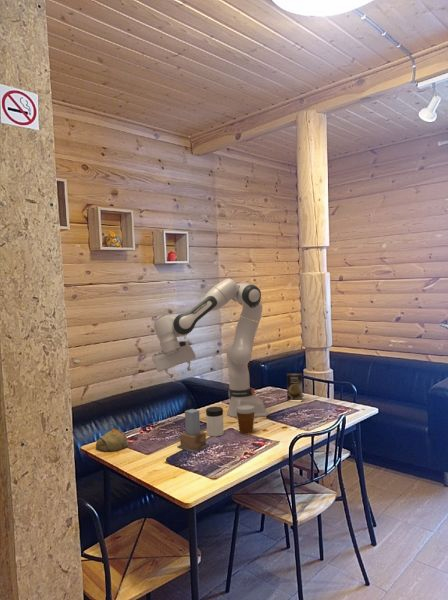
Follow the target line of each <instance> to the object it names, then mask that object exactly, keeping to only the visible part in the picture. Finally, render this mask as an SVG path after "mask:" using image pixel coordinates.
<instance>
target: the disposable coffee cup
mask: <svg viewBox="0 0 448 600" xmlns="http://www.w3.org/2000/svg"><path fill="white" fill-rule="evenodd" d="M236 412H237V417H238V418H237V417H236V418H237V423H238V428H239V432H240V433H241V434H246V435H247V434H251V433H253V431H254V421H255V417H254V412H255V408H254V406H253V405H239V406H237V408H236Z"/></svg>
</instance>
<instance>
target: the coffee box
mask: <svg viewBox="0 0 448 600" xmlns="http://www.w3.org/2000/svg"><path fill="white" fill-rule="evenodd" d="M286 391H287V392H286V393H287V394H286V396H287V400H303V401H304V399H303V396H304V395H303V373H302V372H301V373H296V372H295V373H293V372H291V373H289V372H287V373H286Z"/></svg>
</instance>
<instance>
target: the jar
mask: <svg viewBox="0 0 448 600" xmlns="http://www.w3.org/2000/svg"><path fill="white" fill-rule="evenodd" d="M205 416H206V437H207V436H208V437H216V438H217V437H219V436H224V435H225V434H224V409H223V408H222V407H220V406H210V407H207V408H206V409H205Z"/></svg>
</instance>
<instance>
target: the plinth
mask: <svg viewBox="0 0 448 600" xmlns="http://www.w3.org/2000/svg"><path fill="white" fill-rule="evenodd" d="M179 438H180V439H179V441H180V442H179V443H180V444H179V445H177V446H176V447H177V449H181V450H183V451H187V452H191V453H193V454H194V453H196V452H198V451H200V450H203V449H205V448H207V447H209V446H210V444H209V443H207V431H206V432H205V431H202V430H200V433H198V434H196V435H193V436H192V435H189V434H186V431H184V432H181V433H179Z"/></svg>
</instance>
